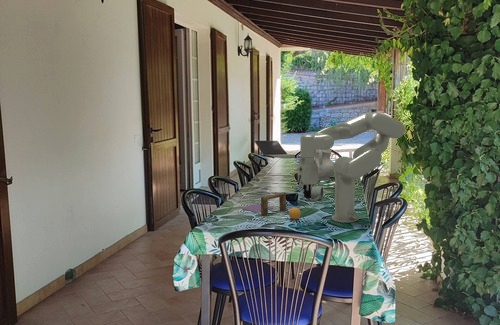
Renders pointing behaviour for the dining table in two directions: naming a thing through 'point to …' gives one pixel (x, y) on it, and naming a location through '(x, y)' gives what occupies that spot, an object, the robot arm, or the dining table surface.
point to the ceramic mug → (316, 193)
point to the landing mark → (254, 208)
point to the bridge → (265, 199)
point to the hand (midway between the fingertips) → (307, 197)
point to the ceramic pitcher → (324, 164)
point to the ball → (294, 213)
